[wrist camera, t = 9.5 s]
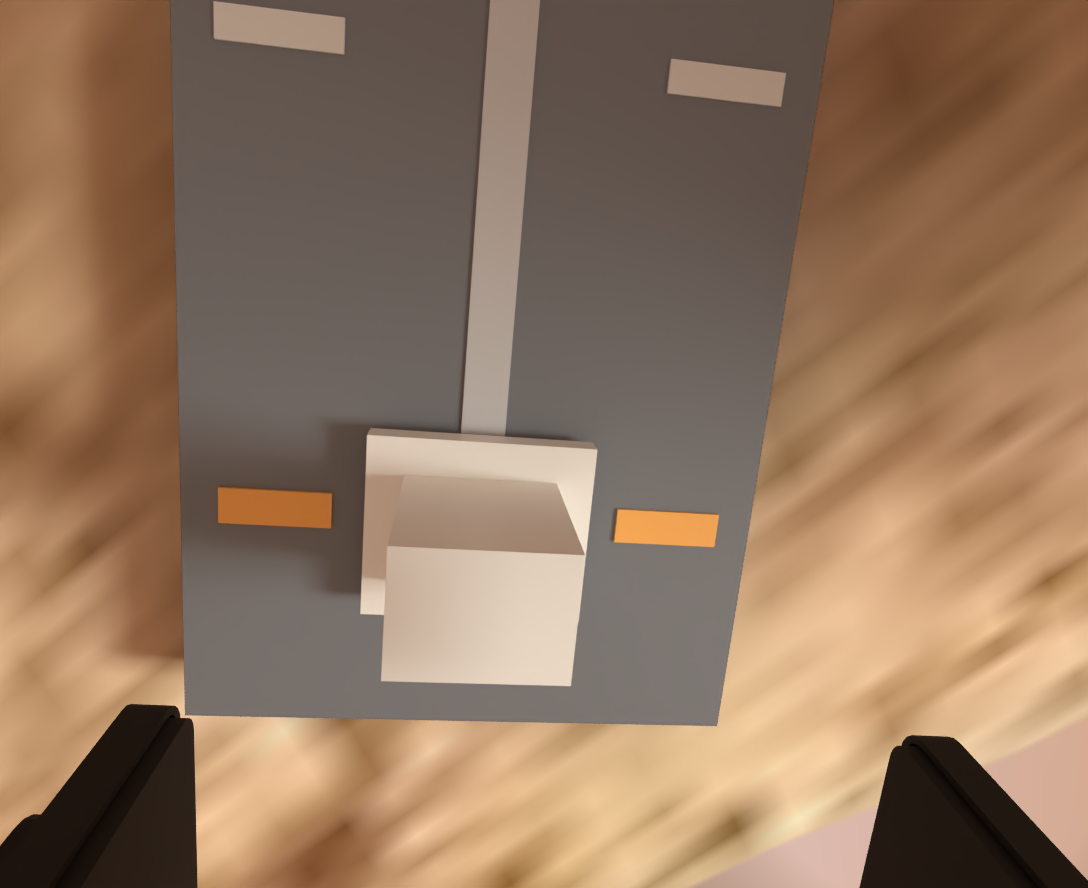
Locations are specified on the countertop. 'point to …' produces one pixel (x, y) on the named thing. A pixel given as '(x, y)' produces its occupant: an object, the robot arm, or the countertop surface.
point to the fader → (476, 554)
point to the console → (478, 317)
